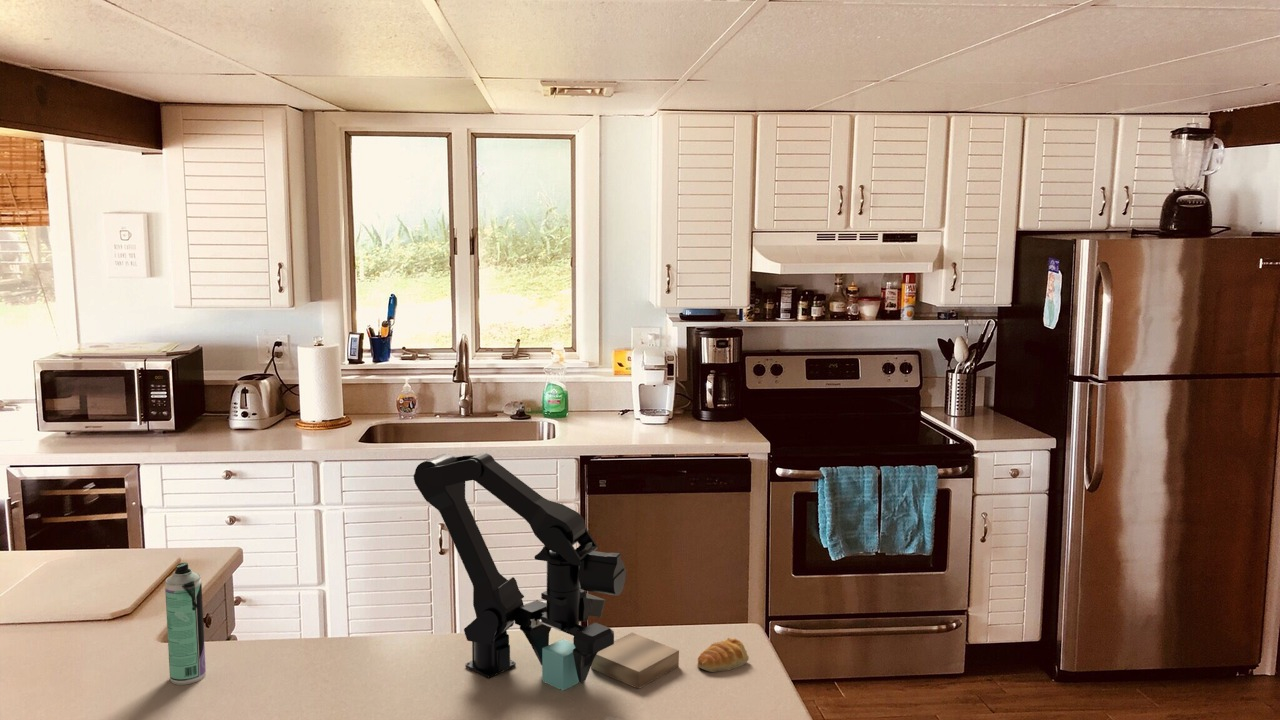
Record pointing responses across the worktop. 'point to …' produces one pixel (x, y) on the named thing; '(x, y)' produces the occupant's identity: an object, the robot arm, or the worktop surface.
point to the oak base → (636, 660)
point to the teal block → (559, 665)
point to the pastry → (723, 656)
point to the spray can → (185, 626)
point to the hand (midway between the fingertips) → (562, 673)
